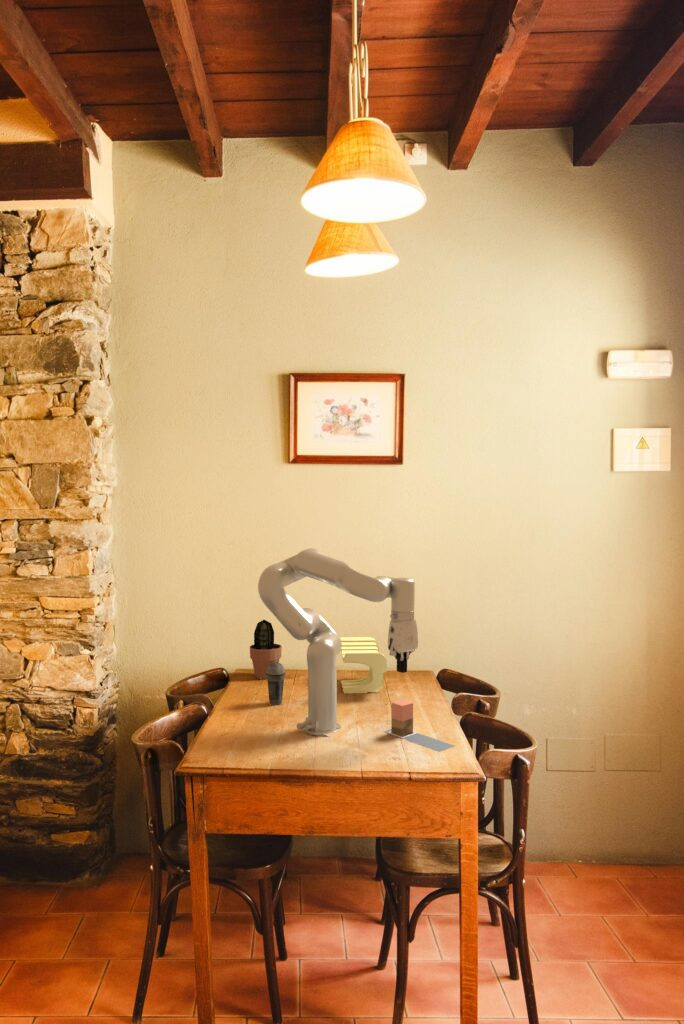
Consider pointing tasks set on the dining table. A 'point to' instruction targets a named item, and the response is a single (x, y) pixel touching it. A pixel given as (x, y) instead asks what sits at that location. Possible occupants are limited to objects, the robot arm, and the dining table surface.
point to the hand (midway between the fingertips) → (401, 671)
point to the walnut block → (401, 727)
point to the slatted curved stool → (367, 654)
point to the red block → (402, 710)
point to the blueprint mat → (424, 741)
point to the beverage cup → (275, 682)
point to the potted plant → (264, 649)
